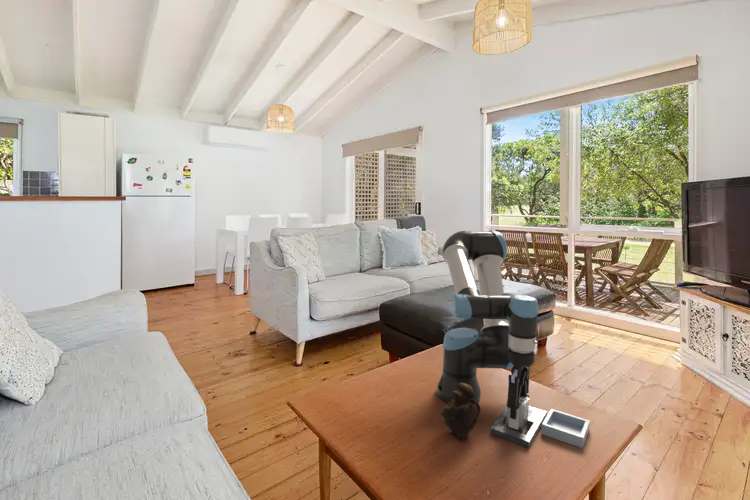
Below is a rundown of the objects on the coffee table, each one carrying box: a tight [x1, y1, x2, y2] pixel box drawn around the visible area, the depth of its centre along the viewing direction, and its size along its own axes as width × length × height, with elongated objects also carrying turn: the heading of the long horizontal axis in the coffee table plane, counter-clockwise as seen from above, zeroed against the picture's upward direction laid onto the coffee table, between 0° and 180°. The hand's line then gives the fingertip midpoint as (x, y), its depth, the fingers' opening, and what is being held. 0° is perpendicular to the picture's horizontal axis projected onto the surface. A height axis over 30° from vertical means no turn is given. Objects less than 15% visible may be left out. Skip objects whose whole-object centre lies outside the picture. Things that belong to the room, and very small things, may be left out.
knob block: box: [505, 395, 530, 435], centre depth 116 cm, size 5×5×11 cm
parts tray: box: [540, 408, 591, 449], centre depth 116 cm, size 11×11×3 cm
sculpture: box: [440, 383, 482, 441], centre depth 113 cm, size 11×11×15 cm
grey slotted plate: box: [489, 405, 548, 450], centre depth 119 cm, size 11×20×2 cm, turn 143°
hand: (516, 422), depth 116 cm, fingers open, 6 cm apart
